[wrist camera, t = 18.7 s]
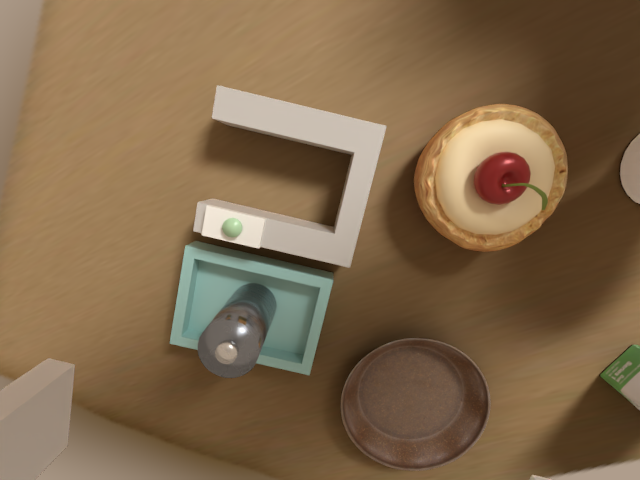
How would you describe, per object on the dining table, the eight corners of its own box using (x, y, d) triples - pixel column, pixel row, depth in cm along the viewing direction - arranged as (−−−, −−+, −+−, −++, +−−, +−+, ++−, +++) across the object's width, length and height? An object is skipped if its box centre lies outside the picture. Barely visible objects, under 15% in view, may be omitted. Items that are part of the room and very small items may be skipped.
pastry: (450, 90, 32) (495, 54, 23) (560, 153, 33) (645, 140, 24) (384, 207, 34) (404, 214, 25) (490, 264, 34) (545, 290, 26)
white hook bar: (230, 95, 32) (212, 81, 27) (379, 131, 32) (388, 124, 27) (208, 224, 34) (188, 233, 29) (347, 256, 35) (350, 271, 30)
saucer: (315, 415, 38) (314, 433, 36) (383, 302, 36) (387, 313, 33) (432, 472, 39) (440, 493, 37) (506, 366, 37) (520, 381, 34)
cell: (235, 278, 35) (199, 318, 25) (280, 288, 35) (262, 332, 25) (227, 321, 35) (190, 375, 26) (271, 331, 36) (250, 388, 26)
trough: (195, 240, 35) (185, 245, 32) (333, 272, 35) (333, 280, 33) (180, 332, 37) (169, 343, 34) (310, 361, 37) (309, 375, 34)
